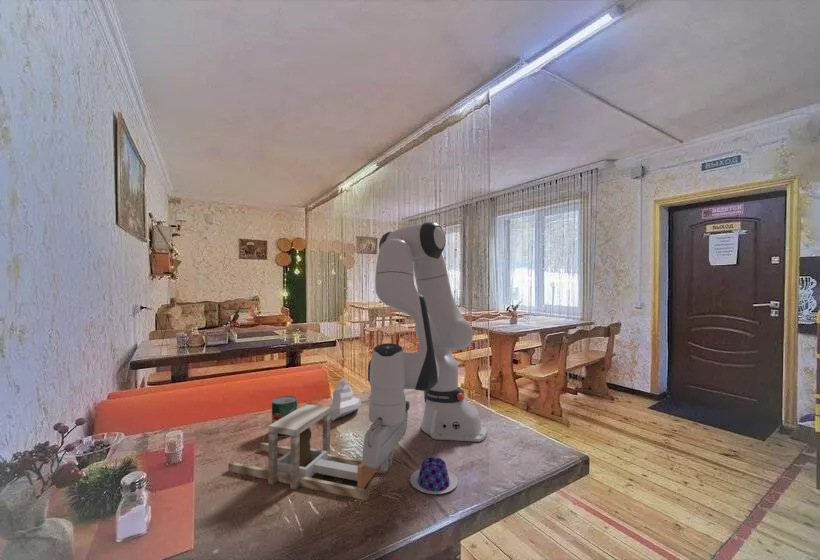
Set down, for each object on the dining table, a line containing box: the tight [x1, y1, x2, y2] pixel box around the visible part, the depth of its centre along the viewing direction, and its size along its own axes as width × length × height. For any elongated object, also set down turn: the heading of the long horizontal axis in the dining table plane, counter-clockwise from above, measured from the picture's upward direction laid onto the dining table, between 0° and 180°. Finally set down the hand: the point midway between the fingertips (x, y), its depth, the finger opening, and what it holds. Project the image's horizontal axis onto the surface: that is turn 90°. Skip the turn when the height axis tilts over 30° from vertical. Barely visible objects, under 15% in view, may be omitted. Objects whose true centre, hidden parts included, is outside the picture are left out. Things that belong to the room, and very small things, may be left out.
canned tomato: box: [271, 395, 298, 439], centre depth 116 cm, size 8×8×11 cm
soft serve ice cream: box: [328, 377, 362, 421], centre depth 133 cm, size 12×15×14 cm
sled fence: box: [277, 447, 378, 489], centre depth 91 cm, size 25×10×6 cm, turn 73°
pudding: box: [409, 456, 459, 495], centre depth 89 cm, size 12×12×5 cm
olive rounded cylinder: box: [290, 428, 312, 467], centre depth 93 cm, size 6×6×11 cm
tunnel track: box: [227, 403, 388, 501], centre depth 93 cm, size 40×16×14 cm, turn 73°
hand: (386, 467), depth 86 cm, fingers closed
